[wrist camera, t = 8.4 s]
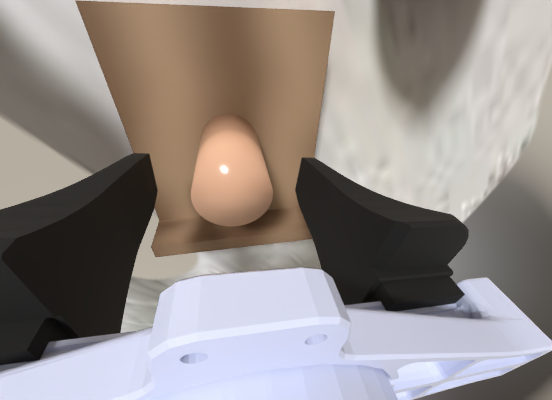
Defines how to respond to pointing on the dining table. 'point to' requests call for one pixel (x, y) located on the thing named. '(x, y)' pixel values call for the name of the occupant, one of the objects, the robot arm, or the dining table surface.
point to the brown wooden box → (214, 102)
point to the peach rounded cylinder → (230, 173)
